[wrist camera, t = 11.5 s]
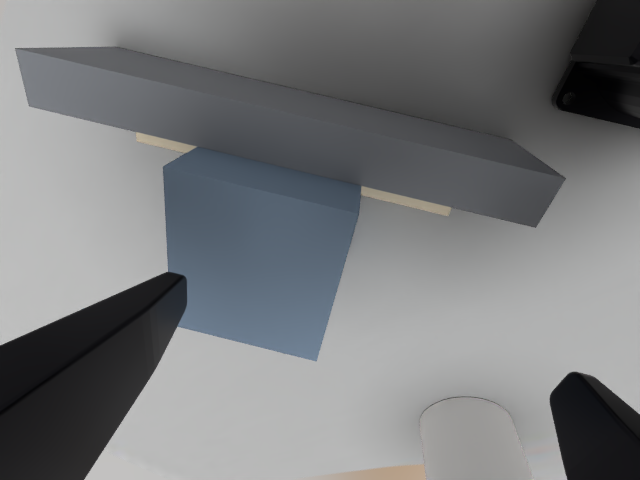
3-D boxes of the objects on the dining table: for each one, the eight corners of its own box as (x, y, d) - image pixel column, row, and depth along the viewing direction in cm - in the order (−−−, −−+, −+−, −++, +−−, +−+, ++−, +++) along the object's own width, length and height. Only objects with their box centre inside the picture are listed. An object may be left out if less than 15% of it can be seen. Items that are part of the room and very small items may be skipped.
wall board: (511, 139, 16) (565, 178, 12) (477, 208, 18) (512, 265, 14) (115, 46, 17) (15, 48, 12) (123, 124, 19) (40, 151, 14)
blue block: (365, 147, 18) (359, 213, 11) (332, 270, 22) (312, 374, 15) (244, 119, 18) (163, 166, 11) (234, 246, 22) (171, 339, 15)
